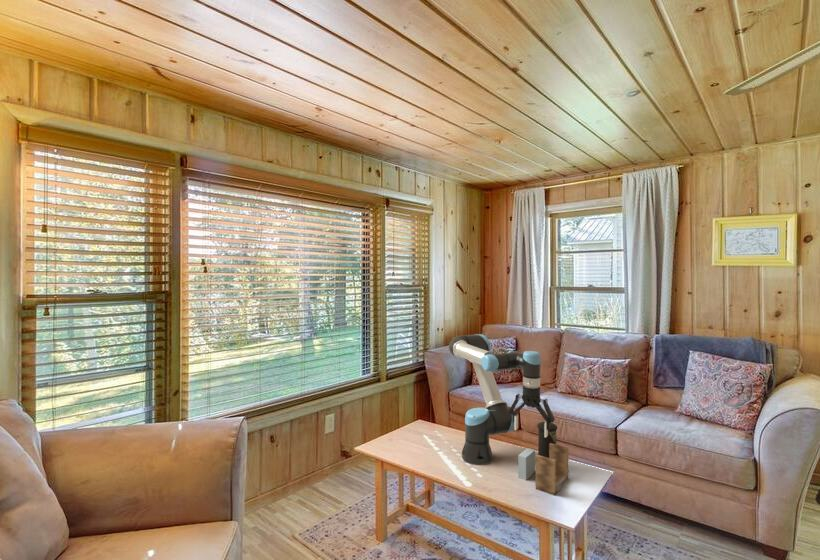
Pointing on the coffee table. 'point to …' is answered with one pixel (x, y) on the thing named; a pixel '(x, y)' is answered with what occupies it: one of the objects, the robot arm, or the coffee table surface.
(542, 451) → the container
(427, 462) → the coffee table surface
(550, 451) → the brown cabinet body
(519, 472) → the door slab
